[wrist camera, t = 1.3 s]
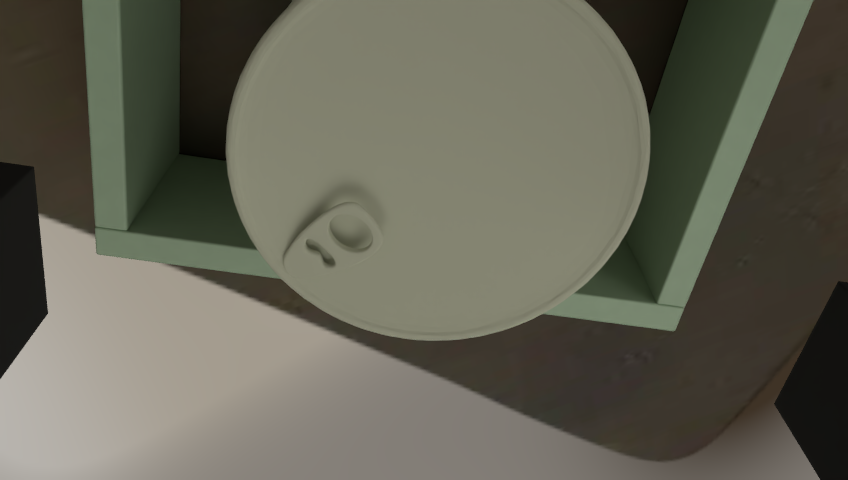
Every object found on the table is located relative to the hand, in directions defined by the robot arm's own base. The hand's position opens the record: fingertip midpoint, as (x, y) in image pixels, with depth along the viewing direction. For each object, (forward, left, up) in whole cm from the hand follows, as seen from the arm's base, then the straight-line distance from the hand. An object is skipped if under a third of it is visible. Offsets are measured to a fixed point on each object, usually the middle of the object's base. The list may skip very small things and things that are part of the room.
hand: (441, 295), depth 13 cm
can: (0, 0, -16) cm, 16 cm away
